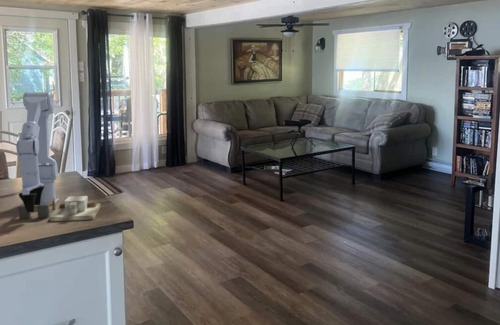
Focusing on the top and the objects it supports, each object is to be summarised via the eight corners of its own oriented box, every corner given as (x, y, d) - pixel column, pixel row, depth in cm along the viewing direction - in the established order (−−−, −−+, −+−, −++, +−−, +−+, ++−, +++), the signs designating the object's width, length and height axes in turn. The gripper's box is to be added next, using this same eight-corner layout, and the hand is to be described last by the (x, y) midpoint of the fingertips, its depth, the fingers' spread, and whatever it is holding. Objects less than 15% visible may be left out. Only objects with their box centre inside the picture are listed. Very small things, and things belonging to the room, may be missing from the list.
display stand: (50, 221, 170) (48, 206, 168) (60, 208, 184) (59, 194, 183) (93, 219, 172) (92, 204, 171) (100, 206, 186) (99, 193, 185)
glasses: (19, 218, 172) (18, 206, 171) (28, 209, 182) (27, 198, 181) (48, 217, 173) (47, 205, 172) (55, 208, 184) (54, 197, 183)
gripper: (36, 176, 164) (39, 214, 166) (47, 167, 178) (50, 202, 180) (14, 177, 163) (18, 215, 165) (27, 168, 177) (30, 203, 179)
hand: (33, 208), depth 173 cm, fingers open, 7 cm apart
